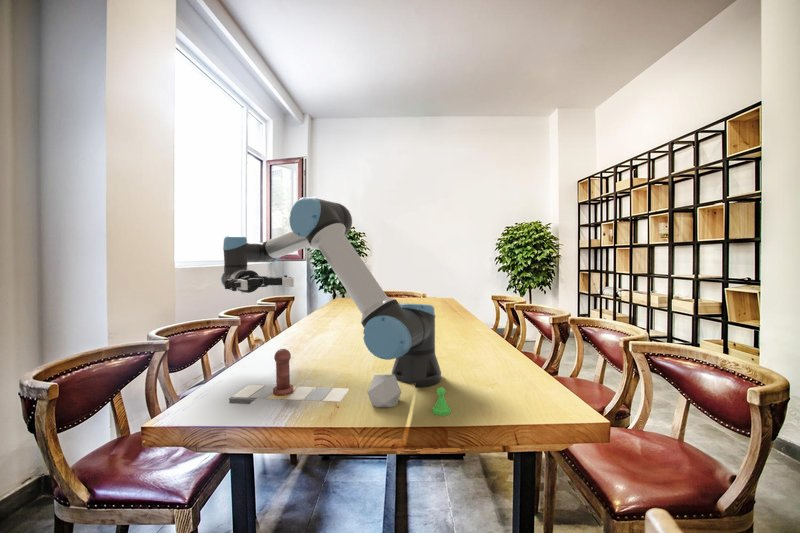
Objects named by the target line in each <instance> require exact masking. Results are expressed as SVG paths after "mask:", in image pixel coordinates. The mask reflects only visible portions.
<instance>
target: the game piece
mask: <svg viewBox="0 0 800 533" xmlns="http://www.w3.org/2000/svg"><path fill="white" fill-rule="evenodd" d="M446 393H447V392H446V389H445V388H444V387H443V386H440V387H438V388H436V394H437V395H438V397H437V400H436V403H435V405H434V406H433V407H432V408H431V409H432V412H433V415H436V416H448V415H449V414H450V413H451V408H450V407H449V406H448V403H447V401H446V398H445V395H446Z"/></svg>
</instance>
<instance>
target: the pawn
mask: <svg viewBox="0 0 800 533" xmlns="http://www.w3.org/2000/svg"><path fill="white" fill-rule="evenodd" d="M291 358H292V355H291V351H289V350H288V349H286V348H280V349H278V350H277V351H275V354H274V361H275V371H276V372H275V374H276V376H275V377H276V379H275V380H276V385H274V386H275V387H274V388H273V393H272V394H274V395H276V396H284V395H288V394H289V395H291V394H292V393H293V392H294V391H293V386H294V385H293V384H291V381H290V380H291V378H290V376H291V375H290V372H291V371H290V360H291ZM289 395H288V396H289Z"/></svg>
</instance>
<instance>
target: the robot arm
mask: <svg viewBox="0 0 800 533" xmlns="http://www.w3.org/2000/svg"><path fill="white" fill-rule="evenodd" d="M289 214H290V215H289V226H290V229H291V230H290V231H287V232H285V233H283V234H280V235H277V236H276V237H273V238H270V239H269V240H266V241H263V242H252V241H248V240H247V237H246V236H242V235H229V236H225V237H224V238H223V246H222V250H223V262H224V265H223V274H222V275H221V279H220V280H221V284H222V286H223V287H224V289H225V290H229V291H232V292H241V294H245V293H246V294H250V293H253V292H256V291H257V290H258V289H259V288H266V287H268V286H282V287H288V288H289V287H290V288H294V282H295V281H294V277H292V276H288V275H286V274H285V275H283V276H280V277H279V276H274V277H273V276H267V275H263V276H261V275H260V274H259V273H258V272H256V271H254V270H251V269H248V263H273V262H274V263H275V262H277V261H279V260H280V258H281V257H283V256H286V255H290V254H292V253H294V252H298V251H300V250H303V249H305V248H309V247H311V248H312V249H313V250H318V251H320V252H321V254H322V255H323V257H324V258H325V260H326V262H327V263H328V264H329V266H330V268H331V270H332V271H333V272H334V274H335V275H336V277H337V278H338V280H339V281H340V283H341V284H342V286H343V287H344V289H345V291H346V293H347V294H348V295H349V297H350V299H351V300H352V301H353V303H354V305H355V306H356V307H357V309H358V311H359V312H360V313H361V316H362V317H361V320H360V323H361V325H362V327H363V328H364V329H363V333H362V334H363V338H362V339H363V343H364V344H365V347H366V348H367V350H368V351H369V352H370V353H371V354H372V355H373V356H374V357H376V358H379V359H381V360H385V361H387V360H388V361H391V360H394V359H395V360H394V364H393V367H392V370H391V375H394V374H395V377H396V379H397V382H401V383H405V384H414V387H415V388H422V387H423V388H424V387H429V386H430V387H431V386H433V385H437V384H438V383H440V382H441V380H442V370H441V367H440V365H439V362H438V358H437V355H436V313H435V307H434V306H433V305H432V304H423V303H401V302H400V303H399V302H398V300H397V299H396V298H393V297H389V296H388V295H387V294H386V293H385V291H384V290H383V288H382V286H381V285H380V284H379V283H378V281H377V280H376V278H375V276H374V275H373V273H372V272H371V271H370V269H369V267H368V266H367V265H366V263H365V262H364V261H363V259H362V258H361V256H360V255H359V254H358V252H357V250H356V249H355V247H354V246H353V244H352V243H351V242H350V240H349V239H348V238H347V235H348V233H349V232H350V231H351V230H352V225H353V217H352V215H351V212H350V210H349V209H348V208H347V207H346V206H345V205H343V204H341V203H338V202H334V201H329V200H326V199H325V200H324V199H321V198H317V197H315V196H313V197H309V196H305V197H301V198H299V199H298V200H297V201H295V202H294V204H293V205H292V207H291V210H290V213H289Z"/></svg>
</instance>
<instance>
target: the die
mask: <svg viewBox="0 0 800 533" xmlns="http://www.w3.org/2000/svg"><path fill="white" fill-rule="evenodd" d="M398 382H399V381H397V379H396V377H395V374H394V375H392V374H374V375H373V378H372V380H371V383H370V385H369V387H368V390H367V395H368V398H369V400H370V402H371V405H372V406H373V407H376V408H392V407H394V406H397V405H398V403H399V399H400V396H401V394H402V390H401V387H400V385H399V383H398Z"/></svg>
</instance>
